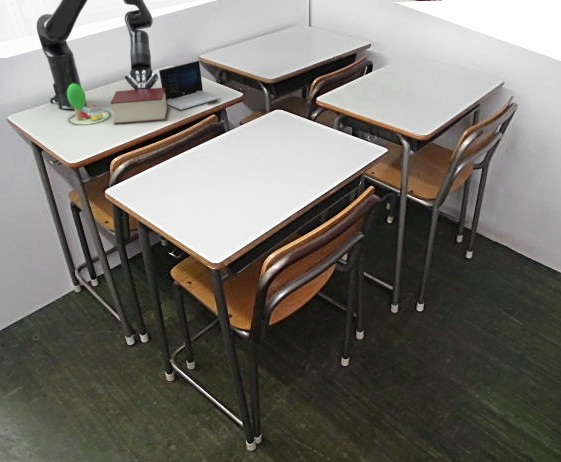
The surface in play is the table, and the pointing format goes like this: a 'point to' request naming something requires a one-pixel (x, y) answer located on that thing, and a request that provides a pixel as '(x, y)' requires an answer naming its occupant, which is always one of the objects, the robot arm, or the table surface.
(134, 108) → the thick red book
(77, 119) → the train set
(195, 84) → the laptop
